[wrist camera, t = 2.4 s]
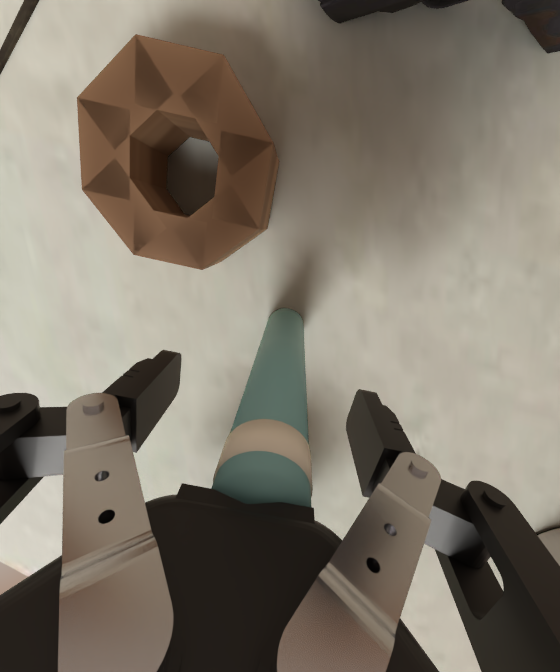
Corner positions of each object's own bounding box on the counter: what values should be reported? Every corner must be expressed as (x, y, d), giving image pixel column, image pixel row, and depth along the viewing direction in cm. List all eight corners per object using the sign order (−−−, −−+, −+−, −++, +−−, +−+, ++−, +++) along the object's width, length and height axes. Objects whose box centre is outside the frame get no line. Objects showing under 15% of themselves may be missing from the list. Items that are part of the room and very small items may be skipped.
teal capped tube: (308, 312, 19) (325, 481, 6) (299, 346, 20) (299, 553, 7) (270, 303, 19) (212, 457, 6) (263, 338, 20) (201, 532, 7)
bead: (289, 107, 15) (285, 69, 12) (260, 269, 19) (250, 280, 15) (128, 70, 15) (72, 19, 11) (128, 240, 18) (84, 243, 15)
